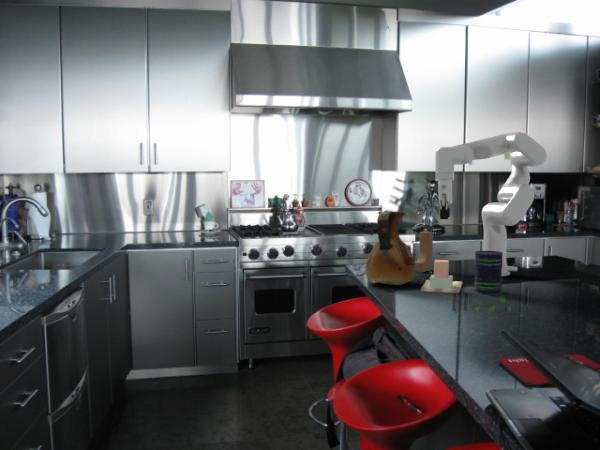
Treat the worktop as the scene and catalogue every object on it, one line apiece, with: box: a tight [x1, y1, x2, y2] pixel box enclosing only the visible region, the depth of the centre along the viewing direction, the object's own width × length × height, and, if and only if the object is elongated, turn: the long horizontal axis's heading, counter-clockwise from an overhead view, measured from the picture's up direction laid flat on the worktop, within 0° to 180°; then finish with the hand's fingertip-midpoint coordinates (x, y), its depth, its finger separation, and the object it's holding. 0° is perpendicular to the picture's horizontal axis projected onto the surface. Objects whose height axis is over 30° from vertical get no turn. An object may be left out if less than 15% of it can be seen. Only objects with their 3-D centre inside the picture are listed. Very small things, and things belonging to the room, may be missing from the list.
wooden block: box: [414, 230, 434, 273], centre depth 249 cm, size 9×4×18 cm, turn 131°
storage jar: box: [473, 250, 503, 296], centre depth 201 cm, size 10×10×15 cm
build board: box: [420, 279, 463, 294], centre depth 211 cm, size 14×18×1 cm
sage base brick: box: [429, 274, 454, 289], centre depth 208 cm, size 8×6×4 cm
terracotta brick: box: [433, 259, 450, 278], centre depth 207 cm, size 5×5×6 cm
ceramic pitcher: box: [365, 210, 416, 286], centre depth 218 cm, size 20×20×30 cm
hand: (444, 218), depth 226 cm, fingers open, 9 cm apart
